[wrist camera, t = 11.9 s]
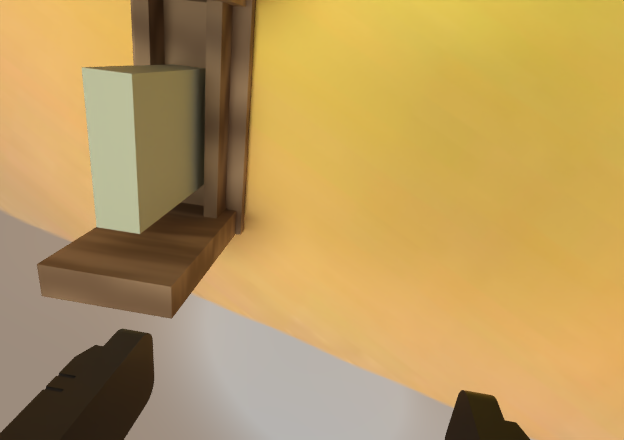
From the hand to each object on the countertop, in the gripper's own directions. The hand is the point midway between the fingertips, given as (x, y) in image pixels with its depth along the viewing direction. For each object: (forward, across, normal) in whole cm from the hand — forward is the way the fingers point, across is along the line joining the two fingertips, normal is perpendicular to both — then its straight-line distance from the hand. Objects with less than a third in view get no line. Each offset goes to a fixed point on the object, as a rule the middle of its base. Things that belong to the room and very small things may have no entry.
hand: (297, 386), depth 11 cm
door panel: (+27, +14, -1) cm, 31 cm away
